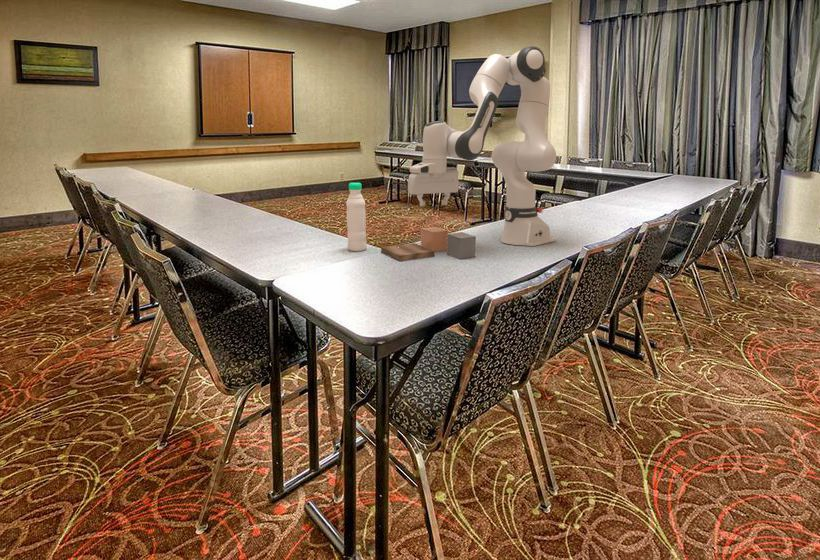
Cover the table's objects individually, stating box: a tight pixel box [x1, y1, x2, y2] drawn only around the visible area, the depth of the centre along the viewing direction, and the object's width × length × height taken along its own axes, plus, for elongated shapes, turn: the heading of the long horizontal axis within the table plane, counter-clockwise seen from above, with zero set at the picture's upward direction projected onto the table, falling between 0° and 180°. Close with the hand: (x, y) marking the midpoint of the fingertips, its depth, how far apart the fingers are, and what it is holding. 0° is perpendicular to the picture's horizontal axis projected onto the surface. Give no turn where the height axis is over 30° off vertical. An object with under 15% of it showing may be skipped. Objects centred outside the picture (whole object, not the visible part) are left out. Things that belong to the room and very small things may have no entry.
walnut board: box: [380, 242, 436, 262], centre depth 188 cm, size 14×15×2 cm
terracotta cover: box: [420, 226, 448, 252], centre depth 196 cm, size 6×9×8 cm
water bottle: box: [345, 182, 368, 252], centre depth 193 cm, size 7×7×25 cm
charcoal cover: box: [446, 231, 477, 260], centre depth 186 cm, size 6×9×8 cm
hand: (433, 205), depth 192 cm, fingers open, 8 cm apart
